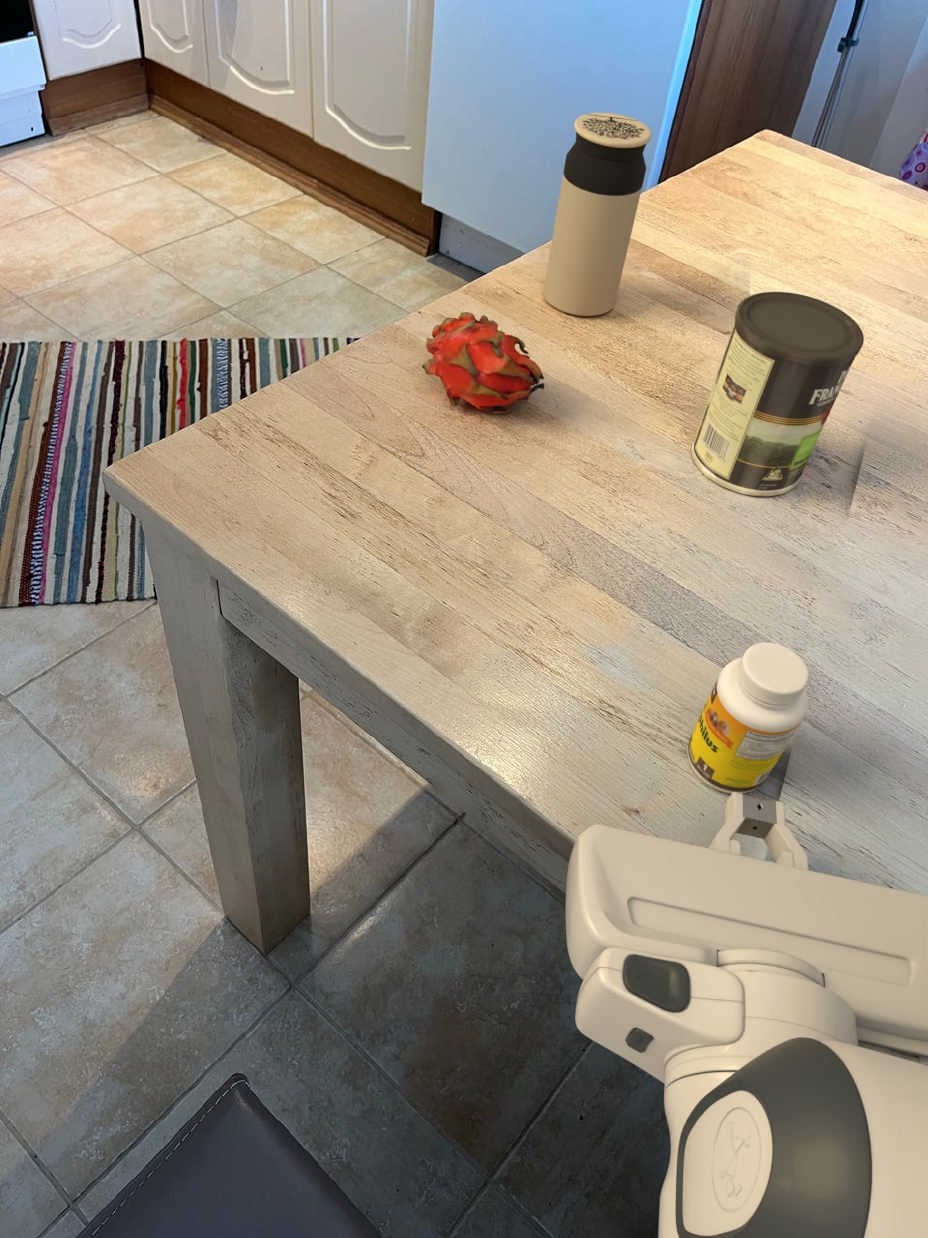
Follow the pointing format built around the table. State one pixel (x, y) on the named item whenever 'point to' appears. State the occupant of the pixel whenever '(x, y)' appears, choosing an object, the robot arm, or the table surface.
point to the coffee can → (774, 391)
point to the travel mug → (596, 213)
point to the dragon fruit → (481, 364)
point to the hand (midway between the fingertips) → (754, 801)
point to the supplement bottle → (749, 718)
